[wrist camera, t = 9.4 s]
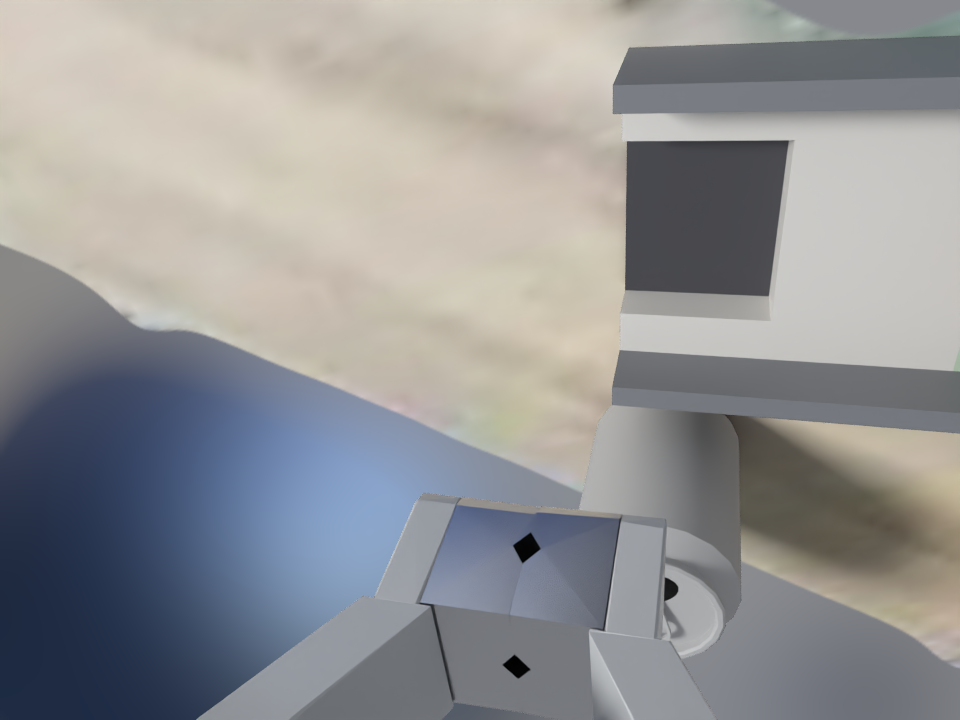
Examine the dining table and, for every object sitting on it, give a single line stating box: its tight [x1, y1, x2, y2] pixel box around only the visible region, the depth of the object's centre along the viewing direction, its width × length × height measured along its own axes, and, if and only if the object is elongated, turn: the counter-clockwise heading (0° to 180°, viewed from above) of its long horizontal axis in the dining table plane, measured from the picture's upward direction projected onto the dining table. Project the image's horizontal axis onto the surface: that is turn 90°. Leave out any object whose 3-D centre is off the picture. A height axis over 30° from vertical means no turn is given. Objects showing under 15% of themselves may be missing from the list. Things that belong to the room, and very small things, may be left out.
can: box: [579, 405, 741, 658], centre depth 37 cm, size 8×8×12 cm
